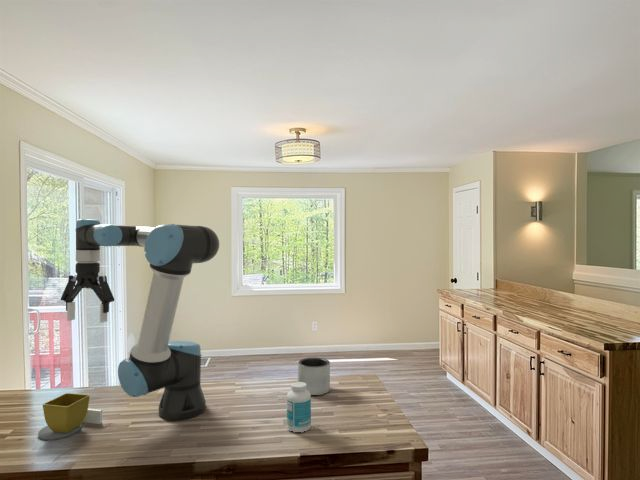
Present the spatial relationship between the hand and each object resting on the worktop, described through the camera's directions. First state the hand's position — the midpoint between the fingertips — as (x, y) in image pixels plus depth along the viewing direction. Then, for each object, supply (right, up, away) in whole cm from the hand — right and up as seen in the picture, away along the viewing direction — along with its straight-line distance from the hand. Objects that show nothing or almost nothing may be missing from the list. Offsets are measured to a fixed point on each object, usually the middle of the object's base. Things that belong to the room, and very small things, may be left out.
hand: (87, 321), depth 140 cm
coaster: (+6, -29, -23) cm, 37 cm away
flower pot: (+8, -28, -23) cm, 37 cm away
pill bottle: (+77, -29, -20) cm, 85 cm away
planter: (+82, -30, +11) cm, 87 cm away
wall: (+8, -29, -16) cm, 34 cm away
